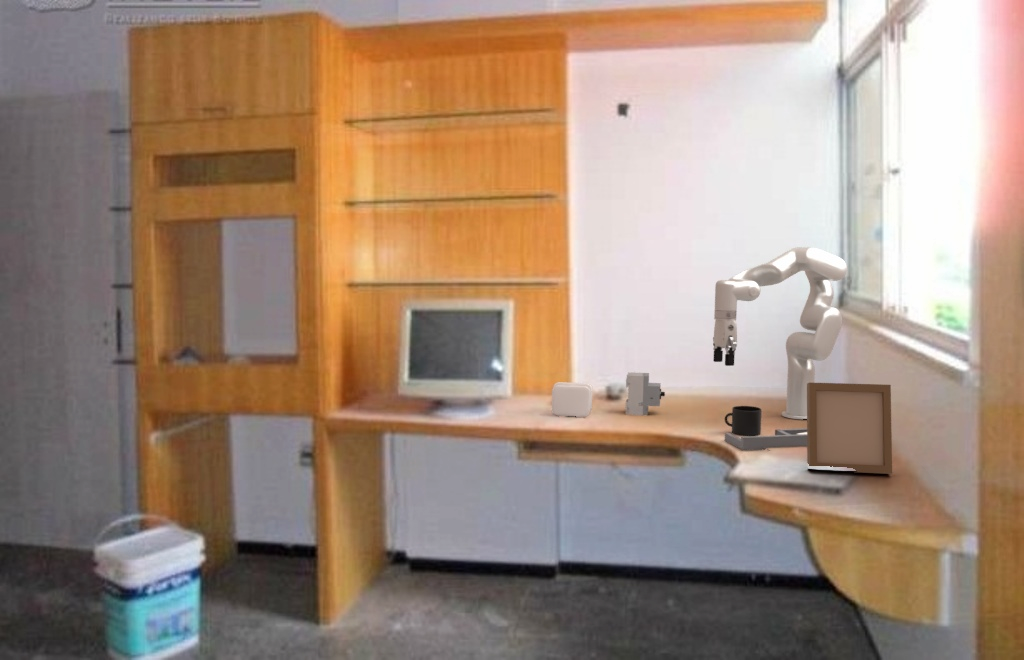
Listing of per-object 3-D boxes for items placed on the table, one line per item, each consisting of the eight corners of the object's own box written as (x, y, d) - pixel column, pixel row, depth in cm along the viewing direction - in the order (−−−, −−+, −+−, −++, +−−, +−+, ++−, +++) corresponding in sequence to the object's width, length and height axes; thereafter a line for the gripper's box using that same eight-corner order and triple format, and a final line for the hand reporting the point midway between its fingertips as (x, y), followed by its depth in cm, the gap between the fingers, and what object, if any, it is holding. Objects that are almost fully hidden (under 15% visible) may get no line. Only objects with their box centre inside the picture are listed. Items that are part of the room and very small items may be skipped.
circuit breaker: (663, 416, 317) (664, 376, 315) (625, 414, 320) (626, 375, 318) (664, 412, 324) (665, 373, 323) (626, 410, 327) (627, 372, 326)
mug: (727, 429, 294) (728, 404, 293) (762, 433, 289) (763, 407, 288) (721, 435, 286) (722, 408, 285) (757, 439, 281) (758, 412, 280)
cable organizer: (549, 416, 317) (549, 385, 315) (553, 411, 327) (553, 381, 326) (589, 418, 314) (589, 387, 312) (592, 412, 324) (593, 382, 323)
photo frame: (892, 477, 235) (895, 387, 233) (809, 473, 239) (812, 385, 237) (879, 464, 249) (882, 380, 247) (801, 461, 253) (804, 377, 251)
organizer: (812, 436, 284) (813, 425, 283) (834, 446, 271) (835, 434, 270) (724, 440, 278) (725, 428, 278) (742, 450, 265) (743, 437, 265)
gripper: (746, 317, 291) (744, 367, 293) (725, 313, 308) (723, 360, 310) (725, 317, 290) (723, 367, 292) (705, 313, 307) (703, 360, 309)
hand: (723, 363), depth 301 cm, fingers open, 9 cm apart
